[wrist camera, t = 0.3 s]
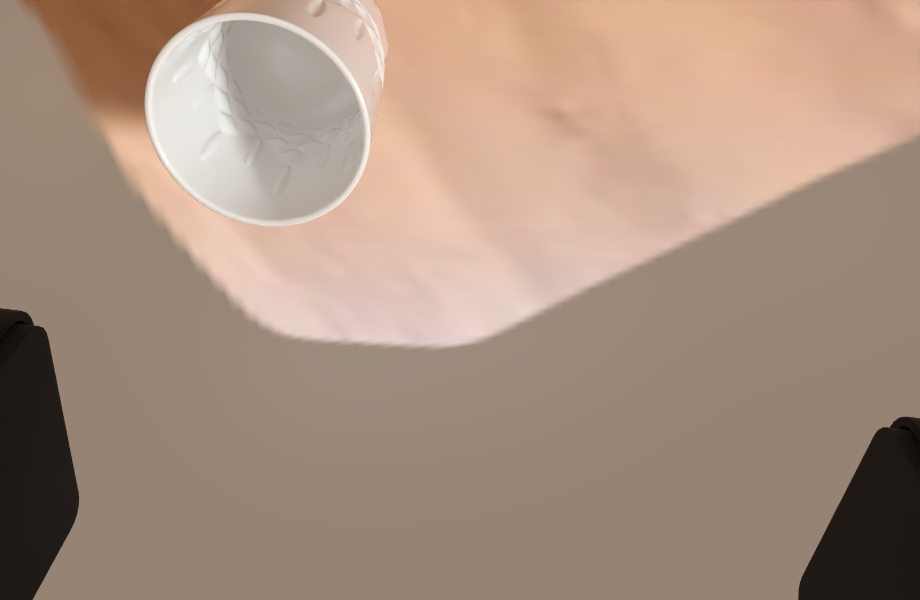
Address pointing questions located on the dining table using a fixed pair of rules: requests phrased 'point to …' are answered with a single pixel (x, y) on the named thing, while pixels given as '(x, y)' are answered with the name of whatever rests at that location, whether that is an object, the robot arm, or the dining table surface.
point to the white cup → (269, 105)
